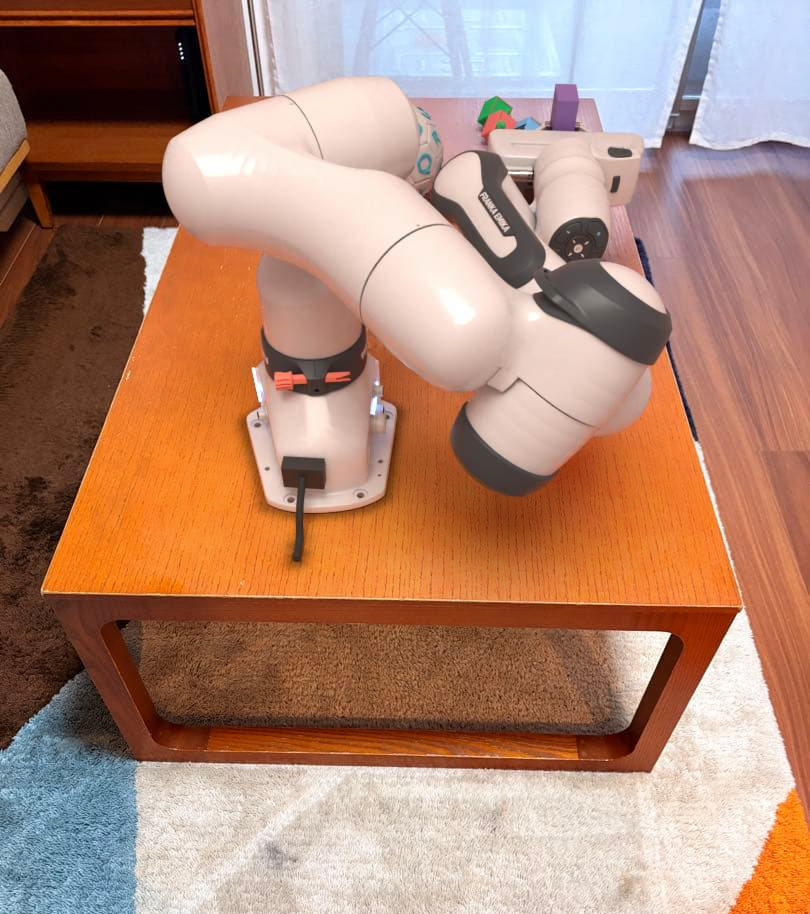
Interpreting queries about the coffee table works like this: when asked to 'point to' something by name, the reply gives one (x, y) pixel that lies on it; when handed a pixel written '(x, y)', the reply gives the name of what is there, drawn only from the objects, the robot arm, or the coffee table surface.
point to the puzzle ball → (426, 154)
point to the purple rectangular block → (564, 107)
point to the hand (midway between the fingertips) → (560, 126)
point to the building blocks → (502, 118)
